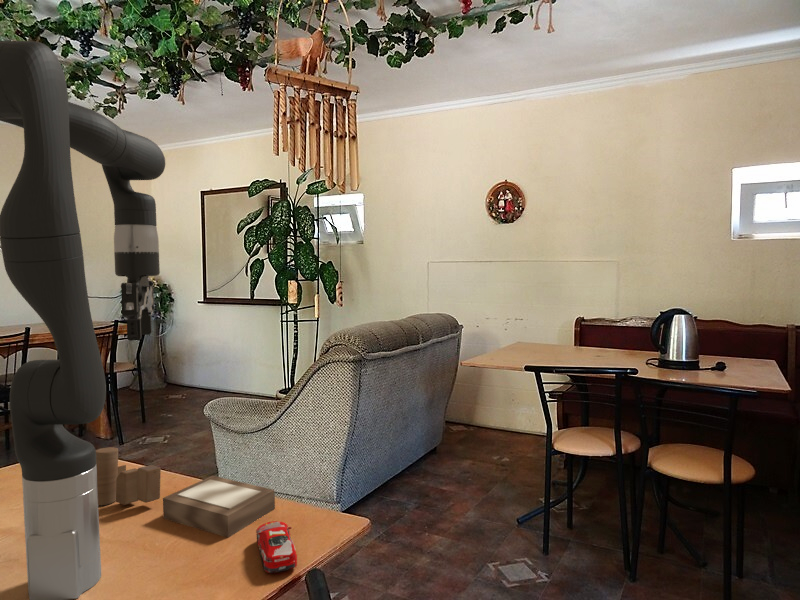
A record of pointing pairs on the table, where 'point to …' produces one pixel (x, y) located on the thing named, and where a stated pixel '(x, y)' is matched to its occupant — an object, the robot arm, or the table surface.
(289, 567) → the race car
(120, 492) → the wooden block set
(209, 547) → the table surface
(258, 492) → the picture frame
